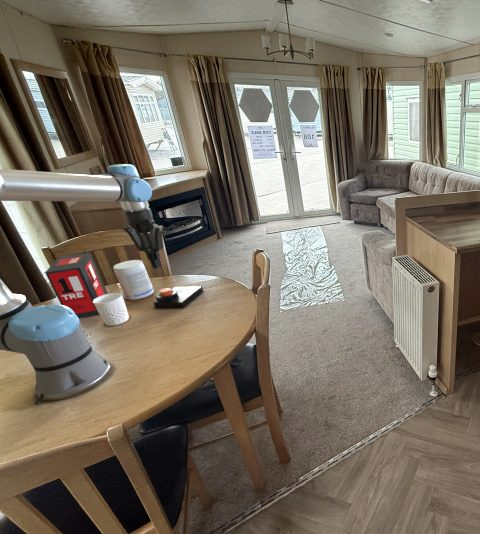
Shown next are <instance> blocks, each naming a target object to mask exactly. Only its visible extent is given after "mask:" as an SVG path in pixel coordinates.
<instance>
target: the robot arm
mask: <svg viewBox="0 0 480 534" xmlns="http://www.w3.org/2000/svg"><path fill="white" fill-rule="evenodd" d="M106 169H107V172H105V173H100V174H92V175H91V174H79V173H64V172H51V171H39V170H38V171H36V170H25V169H23V170H22V169H8V168H0V202H82V203H83V202H84V203H85V202H87V203H88V202H114V203H115V202H117V203H118V202H119V203H120V206H121V209H122V210H123V215H124V216H125V219H126V221H128V225H127V226H125V227H123V228H122V230H123V231H124V232H125V233H127V234H128V236H129V238H130V239H131V241H132V242H133V244H134V245H135V247H136V248H137V250H138V251H139V252H144V253H145V255H146V258H147V260H148V261H150V264H151V267H152V269H158V268H161V267H162V262H161V260H160V259H161V254H160V251H161V250H163V249H164V241H163V230H164V226H163V225H158V224H156V222H155V220H154V219H153V212H152V210H151V208H150V204H149V200H150V199H151V198H152V195H153V190H152V187H151V184H149V182H148V181H146V180H145V179H142V178H141V176H140V175H139V172H138V170H137V168H136V166H135V165H133V164H126V163H124V164H122V163H119V164H112V165H108V166H107V168H106ZM0 351H6V352H12V353H15V354H16V353H17V354H23V355H25V357H26V358H27V360H28V362H29V363H30V365H31V367H32V368H33V370H34V373H35V374H34V375H35V387H34V391H35V393H36V395H37V396H38V398H37V399H36V400H35V402H34V403H33V405H35V406H38V405H39V404H40V403H41V401H42V400H43V401H49V402H50V401H51V402H52V401H59V400H65V399H67V398H68V399H69V398H72V397H75V396H77V395H80V394H82V393H86V392H87V391H89V390H91V389H93V388H95V387H96V386H98V385H100V384H101V383H102V382H103V381H105V380H106V379H107V378H108V377H109V376H110V374H111V372H112V366H111V364H110V362H109V361H108V360H106V359H105V358H104V357H103V356H101V355H100V354H99V353H98V352H97V351H95V350H94V349H93V347H92V345H91V343H90V341H89V338H88V336H87V334H86V332H85V331H84V328H83V326H82V324H81V322H80V318H78V317H77V315H75V313H74V311H73V310H72V309H71V308H69V307H67V306H63V305H61V304H47V305H45V304H42V305H37V306H33V305H32V303H31V302H30V301H29V300H28V298H26V296H25V295H23V294H18V293H13V292H12V291H11V290H10V288H8V286H7V285H6V284H5V282H4V281H3V280H2V279H1V278H0Z"/></svg>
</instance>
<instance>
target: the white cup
mask: <svg viewBox="0 0 480 534" xmlns="http://www.w3.org/2000/svg"><path fill="white" fill-rule="evenodd" d="M93 303H94V305H95V307H96V309H97V311H98V312H99V314H98V315H99V316H100V318H101V319H102V321H103V323H104V325H106V326H110V327H112V326H113V327H114V326H118V325H121V324H124V323H126V322H128V320H129V319H130V316H129V312H128V308H127V305H126V302H125V300H124V297H123V294H122V293H121V292H111V293H108V294H105V295H102V296H100V297H97V298H96V299H94V300H93Z"/></svg>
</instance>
